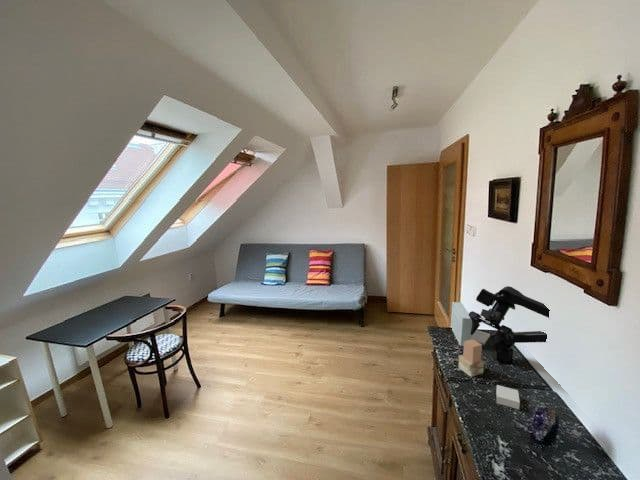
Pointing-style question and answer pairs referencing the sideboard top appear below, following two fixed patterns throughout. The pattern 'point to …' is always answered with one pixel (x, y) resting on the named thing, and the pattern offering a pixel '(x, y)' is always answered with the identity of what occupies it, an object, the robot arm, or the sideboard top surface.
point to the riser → (507, 397)
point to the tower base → (472, 372)
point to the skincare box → (460, 323)
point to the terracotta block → (472, 351)
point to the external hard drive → (480, 337)
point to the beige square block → (470, 364)
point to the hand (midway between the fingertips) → (480, 339)
